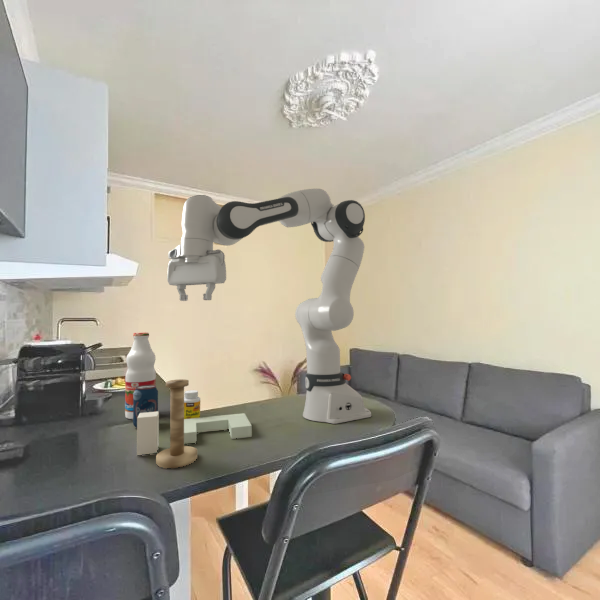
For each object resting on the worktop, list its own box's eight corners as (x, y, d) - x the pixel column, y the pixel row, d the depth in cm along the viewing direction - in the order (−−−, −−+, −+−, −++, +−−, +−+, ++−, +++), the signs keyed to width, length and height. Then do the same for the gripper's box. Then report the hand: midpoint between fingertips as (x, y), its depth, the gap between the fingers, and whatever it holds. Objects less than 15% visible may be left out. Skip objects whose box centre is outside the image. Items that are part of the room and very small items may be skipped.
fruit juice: (160, 411, 121) (161, 331, 122) (146, 420, 112) (147, 333, 113) (134, 411, 122) (135, 332, 123) (118, 419, 112) (119, 333, 114)
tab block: (158, 447, 88) (158, 411, 89) (157, 453, 84) (157, 416, 84) (139, 449, 87) (139, 413, 87) (136, 456, 82) (137, 417, 83)
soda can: (135, 431, 100) (135, 389, 101) (130, 425, 106) (131, 386, 107) (160, 426, 105) (160, 386, 105) (154, 421, 110) (155, 383, 111)
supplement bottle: (183, 429, 102) (184, 394, 102) (178, 424, 106) (179, 390, 107) (202, 426, 105) (202, 392, 105) (197, 421, 109) (197, 388, 110)
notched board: (244, 423, 107) (244, 413, 107) (251, 436, 95) (251, 425, 95) (176, 430, 101) (176, 419, 101) (174, 446, 89) (174, 434, 89)
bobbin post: (197, 450, 85) (197, 376, 86) (197, 465, 77) (197, 383, 78) (157, 455, 83) (158, 379, 84) (154, 471, 74) (154, 386, 75)
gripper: (232, 250, 96) (230, 300, 95) (181, 256, 106) (179, 301, 105) (215, 246, 91) (214, 299, 90) (164, 253, 101) (162, 300, 100)
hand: (195, 300), depth 98 cm, fingers open, 8 cm apart
